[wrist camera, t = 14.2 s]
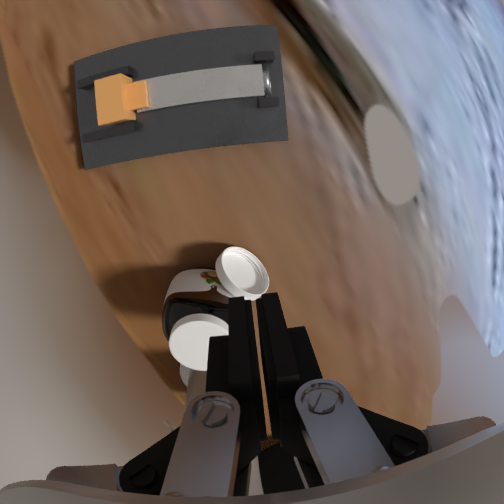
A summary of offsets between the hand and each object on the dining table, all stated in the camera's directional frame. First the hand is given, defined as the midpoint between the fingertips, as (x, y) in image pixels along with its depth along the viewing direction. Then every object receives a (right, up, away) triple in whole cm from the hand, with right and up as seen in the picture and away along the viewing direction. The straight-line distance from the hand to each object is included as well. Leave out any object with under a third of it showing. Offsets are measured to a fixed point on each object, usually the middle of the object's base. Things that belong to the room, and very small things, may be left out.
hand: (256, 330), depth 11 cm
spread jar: (-5, -1, +30) cm, 30 cm away
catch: (-14, +20, +19) cm, 30 cm away
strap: (-5, +20, +19) cm, 28 cm away
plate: (-9, +21, +20) cm, 30 cm away
